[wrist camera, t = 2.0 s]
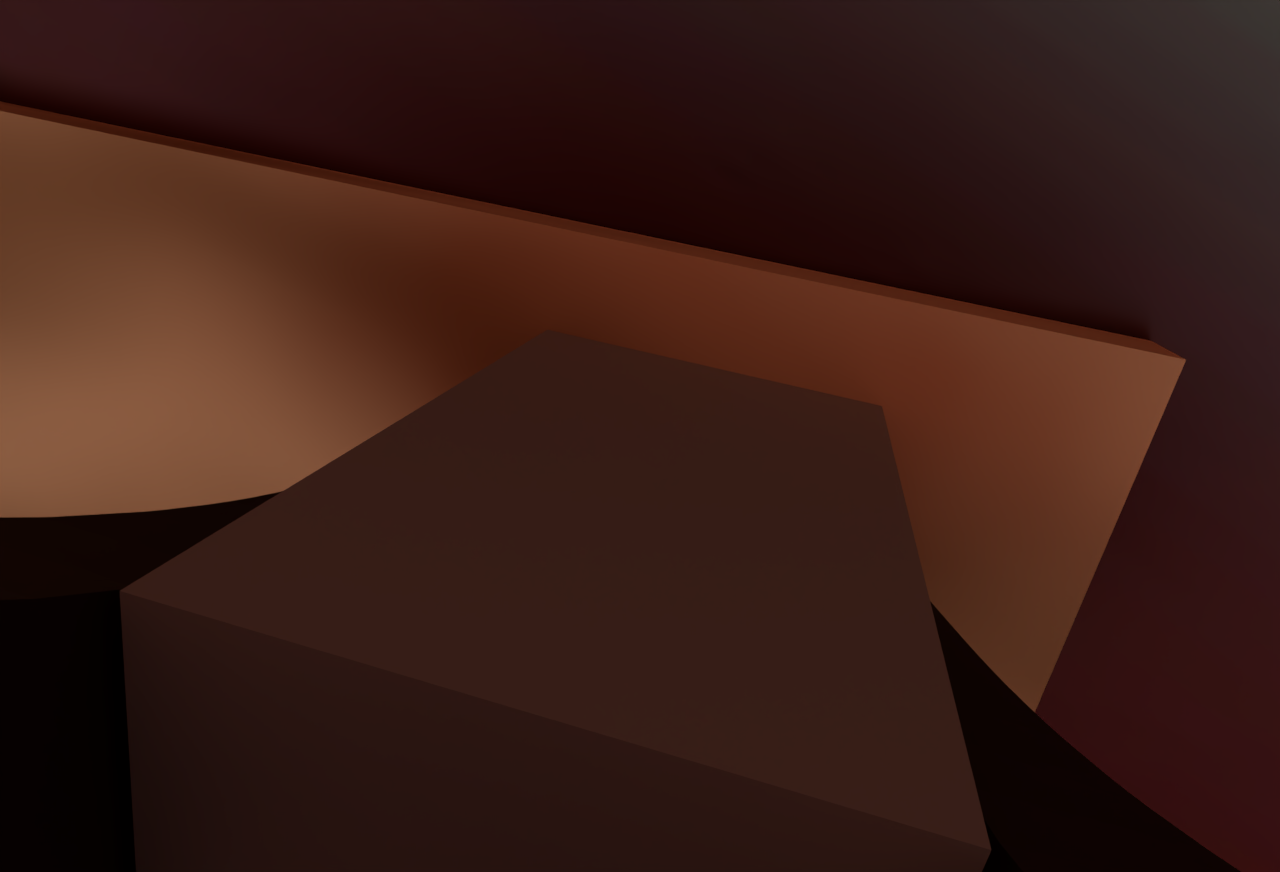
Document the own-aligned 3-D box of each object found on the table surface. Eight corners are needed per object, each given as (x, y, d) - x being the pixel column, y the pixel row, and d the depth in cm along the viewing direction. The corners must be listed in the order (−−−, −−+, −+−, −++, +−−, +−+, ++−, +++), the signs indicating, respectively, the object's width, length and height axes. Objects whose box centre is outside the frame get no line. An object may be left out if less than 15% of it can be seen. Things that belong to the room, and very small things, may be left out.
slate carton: (793, 701, 13) (758, 1381, 6) (507, 621, 14) (151, 1139, 7) (882, 406, 11) (990, 849, 4) (547, 329, 12) (119, 591, 5)
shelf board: (817, 1154, 18) (816, 1383, 15) (-21, 854, 21) (-183, 987, 18) (1151, 340, 12) (1289, 415, 8) (-137, 72, 15) (-431, 45, 11)
